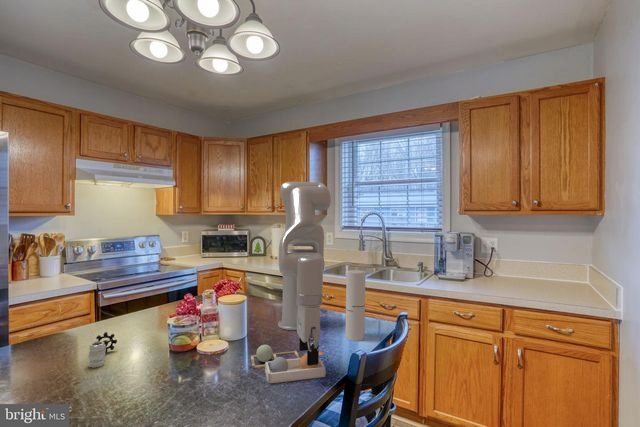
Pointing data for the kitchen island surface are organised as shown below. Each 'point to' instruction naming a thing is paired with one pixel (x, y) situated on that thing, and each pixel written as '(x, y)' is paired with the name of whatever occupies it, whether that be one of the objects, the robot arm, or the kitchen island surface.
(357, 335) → the cylindrical container
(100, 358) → the valve
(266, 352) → the ball sage
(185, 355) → the kitchen island surface
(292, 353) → the tray
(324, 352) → the card
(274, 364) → the ball slate
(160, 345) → the kitchen island surface
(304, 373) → the trough
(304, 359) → the ball terracotta
